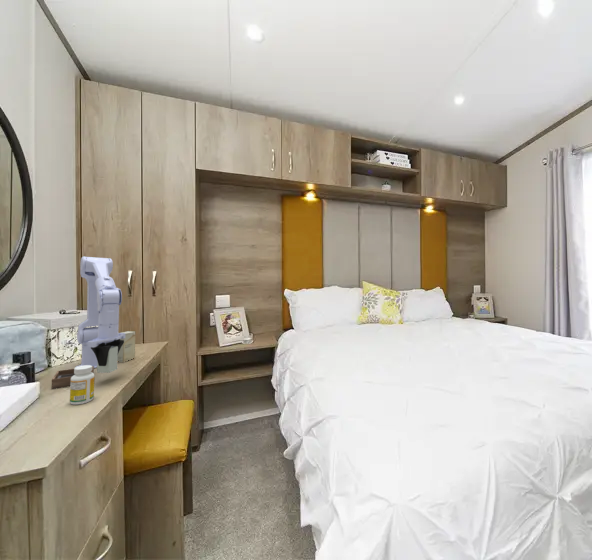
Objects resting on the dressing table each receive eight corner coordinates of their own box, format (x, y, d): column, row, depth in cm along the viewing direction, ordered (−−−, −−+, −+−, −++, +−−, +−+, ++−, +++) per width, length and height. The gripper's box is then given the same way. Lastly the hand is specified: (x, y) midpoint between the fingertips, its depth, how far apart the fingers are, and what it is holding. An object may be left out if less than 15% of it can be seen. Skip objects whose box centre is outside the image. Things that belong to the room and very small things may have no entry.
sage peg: (106, 368, 92) (106, 345, 92) (117, 369, 92) (117, 346, 92) (97, 372, 88) (97, 348, 88) (108, 372, 88) (109, 349, 88)
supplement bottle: (76, 406, 71) (77, 371, 71) (65, 403, 73) (66, 368, 74) (98, 398, 76) (99, 365, 76) (87, 395, 78) (88, 363, 79)
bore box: (57, 379, 91) (57, 370, 91) (93, 374, 96) (93, 366, 96) (51, 389, 82) (51, 379, 83) (91, 382, 88) (91, 373, 88)
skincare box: (123, 362, 111) (124, 333, 111) (114, 361, 112) (115, 333, 112) (135, 358, 117) (136, 331, 117) (127, 357, 118) (127, 330, 118)
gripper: (103, 327, 83) (102, 370, 83) (133, 321, 97) (132, 358, 97) (82, 327, 83) (80, 370, 83) (115, 320, 98) (114, 357, 97)
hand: (107, 363), depth 90 cm, fingers closed on sage peg, 4 cm apart
